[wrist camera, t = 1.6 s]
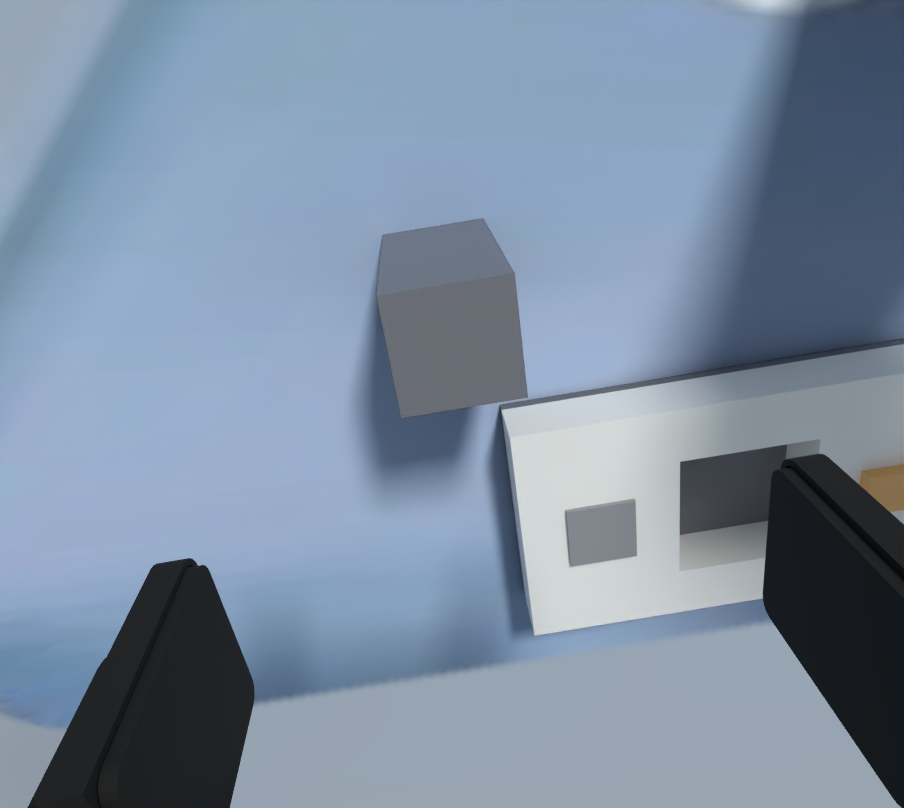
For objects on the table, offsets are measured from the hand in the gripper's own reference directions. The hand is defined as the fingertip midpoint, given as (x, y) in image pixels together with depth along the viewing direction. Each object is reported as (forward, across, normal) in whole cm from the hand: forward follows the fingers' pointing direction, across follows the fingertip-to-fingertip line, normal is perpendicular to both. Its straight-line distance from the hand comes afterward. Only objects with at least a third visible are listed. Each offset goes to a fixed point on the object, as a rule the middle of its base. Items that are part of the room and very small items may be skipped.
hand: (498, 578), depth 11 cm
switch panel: (+18, -12, +12) cm, 24 cm away
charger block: (+18, 0, 0) cm, 18 cm away
